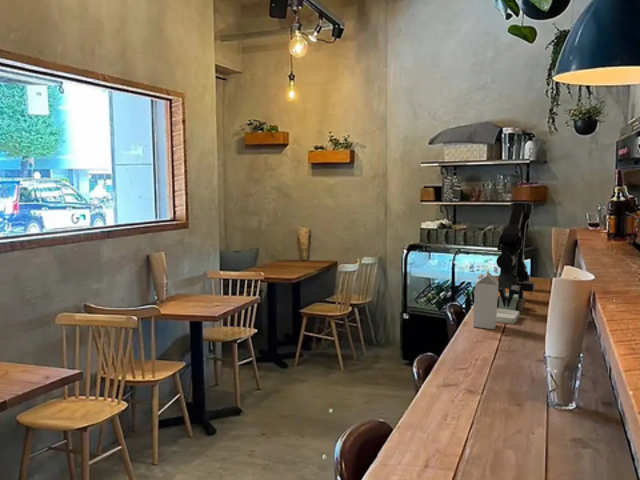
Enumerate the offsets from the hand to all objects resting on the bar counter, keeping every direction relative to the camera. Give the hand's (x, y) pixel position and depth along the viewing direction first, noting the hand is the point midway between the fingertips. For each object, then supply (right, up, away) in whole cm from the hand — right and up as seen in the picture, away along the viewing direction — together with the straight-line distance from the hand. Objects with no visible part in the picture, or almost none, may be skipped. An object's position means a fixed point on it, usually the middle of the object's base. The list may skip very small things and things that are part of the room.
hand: (506, 306), depth 228 cm
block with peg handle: (+2, -1, +4) cm, 4 cm away
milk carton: (-14, -4, -22) cm, 26 cm away
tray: (-6, -3, -11) cm, 13 cm away
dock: (+3, -1, +6) cm, 7 cm away
